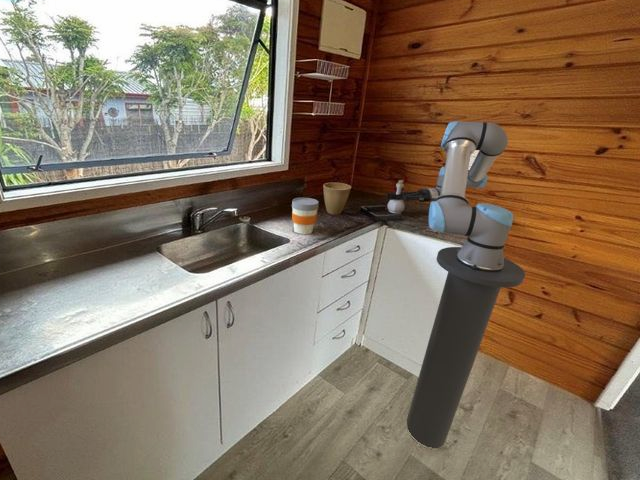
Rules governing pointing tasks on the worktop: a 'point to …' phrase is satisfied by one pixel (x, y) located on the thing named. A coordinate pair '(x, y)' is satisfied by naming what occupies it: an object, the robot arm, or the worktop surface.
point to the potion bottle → (397, 205)
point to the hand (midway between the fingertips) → (388, 196)
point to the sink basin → (367, 212)
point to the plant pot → (335, 197)
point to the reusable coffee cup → (304, 214)
